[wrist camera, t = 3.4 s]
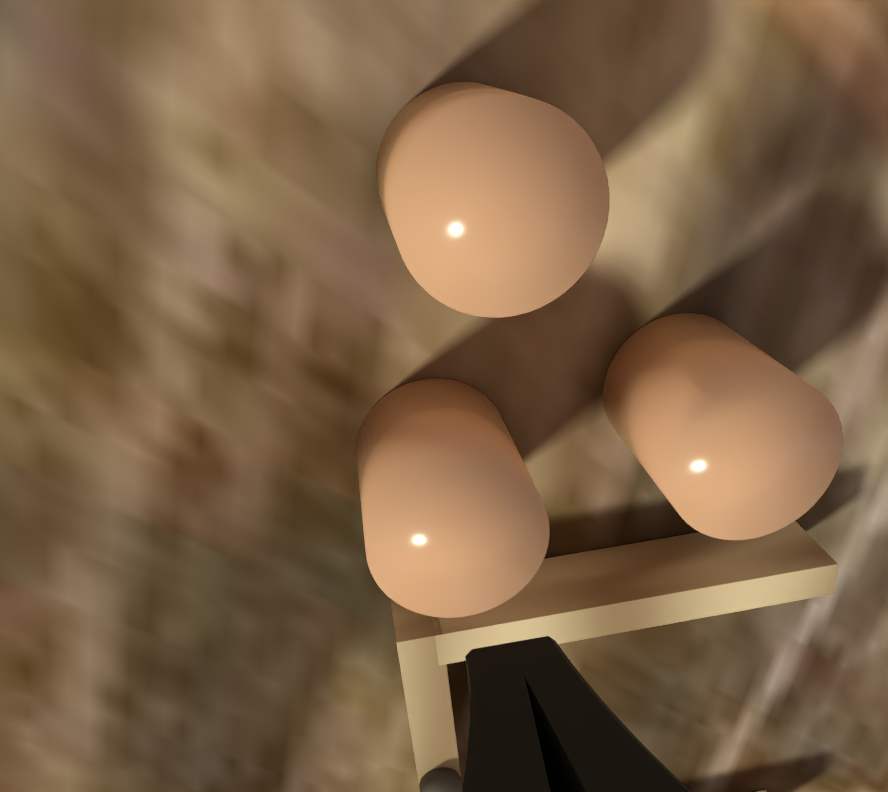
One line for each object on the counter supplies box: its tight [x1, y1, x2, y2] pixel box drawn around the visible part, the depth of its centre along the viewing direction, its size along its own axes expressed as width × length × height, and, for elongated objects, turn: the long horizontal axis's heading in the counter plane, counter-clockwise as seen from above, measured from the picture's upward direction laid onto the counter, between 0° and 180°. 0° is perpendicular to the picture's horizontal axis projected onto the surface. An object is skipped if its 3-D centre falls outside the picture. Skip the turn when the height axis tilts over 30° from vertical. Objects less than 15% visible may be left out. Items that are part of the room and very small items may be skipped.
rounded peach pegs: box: [356, 82, 843, 618], centre depth 19 cm, size 11×11×4 cm
